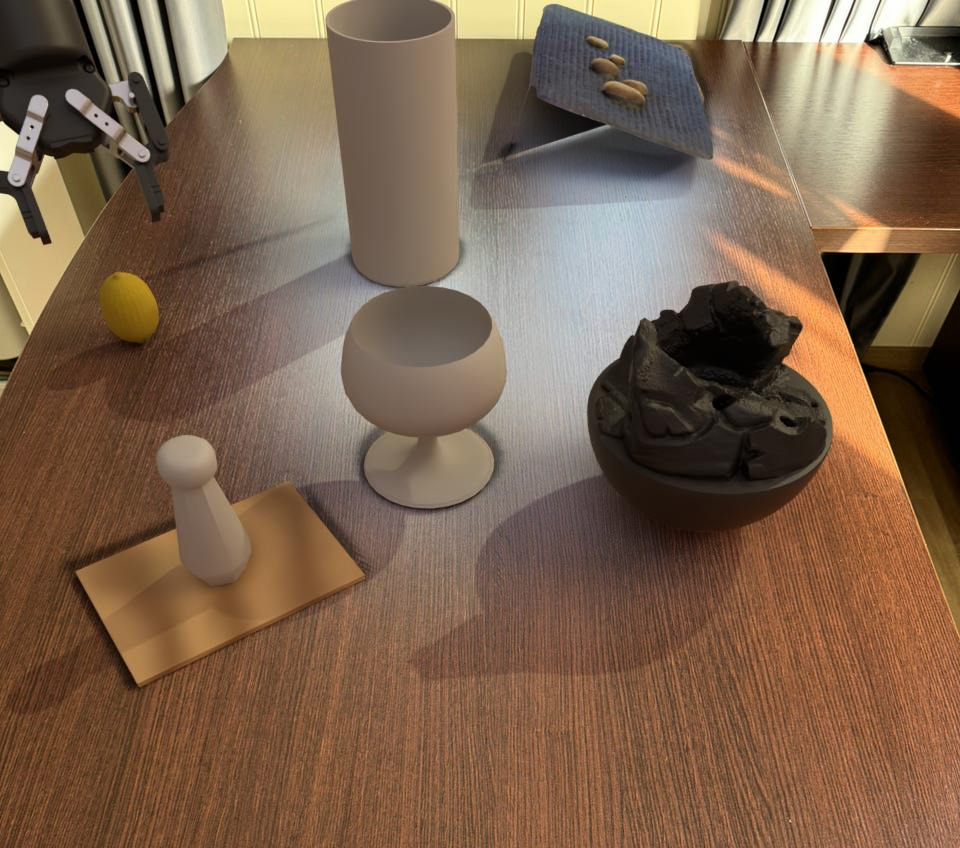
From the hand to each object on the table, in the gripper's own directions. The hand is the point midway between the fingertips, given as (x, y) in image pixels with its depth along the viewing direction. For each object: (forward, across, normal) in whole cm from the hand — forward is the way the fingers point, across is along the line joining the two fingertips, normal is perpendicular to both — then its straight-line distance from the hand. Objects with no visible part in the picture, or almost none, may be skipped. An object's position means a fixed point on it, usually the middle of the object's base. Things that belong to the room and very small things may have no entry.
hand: (102, 229), depth 73 cm
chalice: (+25, +21, +4) cm, 33 cm away
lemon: (+3, +1, +27) cm, 27 cm away
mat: (-17, +76, +46) cm, 91 cm away
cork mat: (+29, -1, +1) cm, 29 cm away
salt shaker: (+28, 0, +1) cm, 28 cm away
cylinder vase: (+1, +33, +28) cm, 44 cm away
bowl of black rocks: (+35, +40, -6) cm, 54 cm away
